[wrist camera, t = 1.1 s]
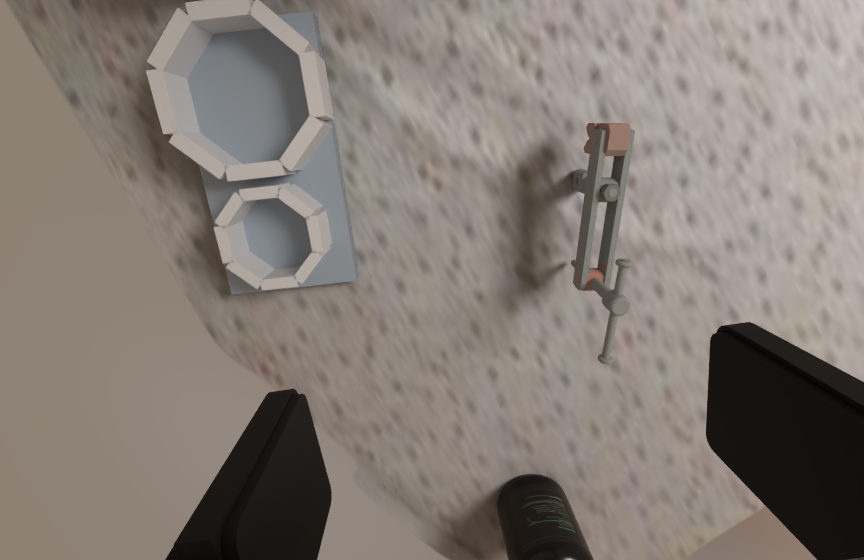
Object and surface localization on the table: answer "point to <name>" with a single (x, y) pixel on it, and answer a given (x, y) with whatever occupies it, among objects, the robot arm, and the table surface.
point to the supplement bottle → (539, 521)
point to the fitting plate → (258, 140)
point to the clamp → (611, 190)
